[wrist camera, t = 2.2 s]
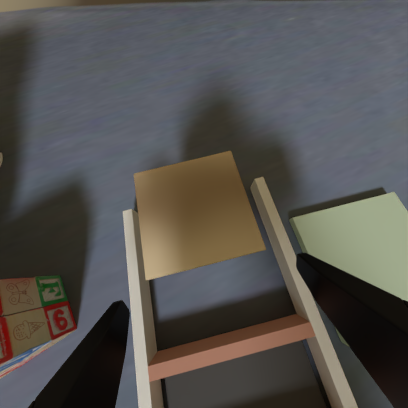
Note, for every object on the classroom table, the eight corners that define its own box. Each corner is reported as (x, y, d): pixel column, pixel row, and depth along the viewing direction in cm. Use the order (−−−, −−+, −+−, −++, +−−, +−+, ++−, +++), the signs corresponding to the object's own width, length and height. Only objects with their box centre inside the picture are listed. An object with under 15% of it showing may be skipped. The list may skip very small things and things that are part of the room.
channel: (362, 454, 13) (394, 495, 11) (163, 513, 13) (151, 570, 10) (257, 186, 21) (263, 176, 19) (133, 217, 21) (122, 211, 18)
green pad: (461, 308, 16) (476, 311, 15) (340, 341, 16) (349, 347, 15) (385, 195, 20) (394, 191, 19) (288, 219, 20) (292, 217, 19)
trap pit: (337, 423, 14) (362, 456, 12) (171, 472, 14) (162, 515, 11) (296, 313, 17) (310, 322, 14) (157, 351, 16) (147, 366, 14)
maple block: (233, 258, 19) (266, 249, 7) (189, 269, 18) (145, 280, 7) (220, 215, 20) (230, 150, 9) (180, 226, 20) (133, 173, 8)
